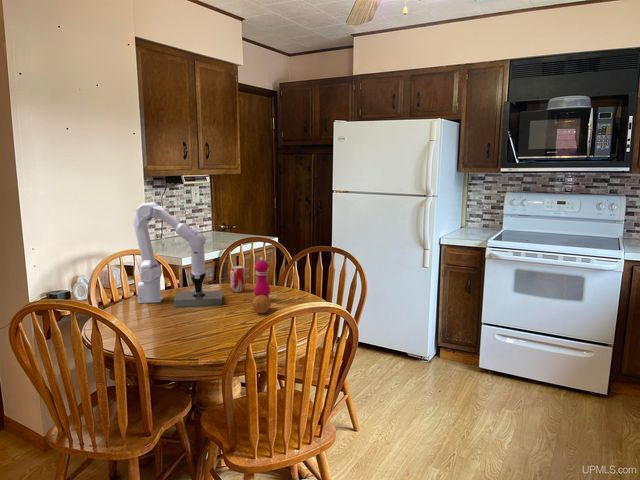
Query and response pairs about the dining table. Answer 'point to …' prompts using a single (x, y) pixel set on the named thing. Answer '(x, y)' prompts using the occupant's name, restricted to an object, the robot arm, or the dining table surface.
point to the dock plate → (198, 299)
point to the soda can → (237, 278)
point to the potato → (261, 304)
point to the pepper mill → (262, 278)
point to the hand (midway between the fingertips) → (198, 291)
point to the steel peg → (198, 293)
